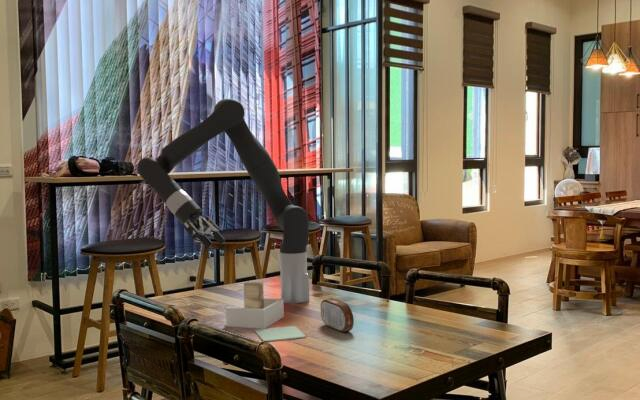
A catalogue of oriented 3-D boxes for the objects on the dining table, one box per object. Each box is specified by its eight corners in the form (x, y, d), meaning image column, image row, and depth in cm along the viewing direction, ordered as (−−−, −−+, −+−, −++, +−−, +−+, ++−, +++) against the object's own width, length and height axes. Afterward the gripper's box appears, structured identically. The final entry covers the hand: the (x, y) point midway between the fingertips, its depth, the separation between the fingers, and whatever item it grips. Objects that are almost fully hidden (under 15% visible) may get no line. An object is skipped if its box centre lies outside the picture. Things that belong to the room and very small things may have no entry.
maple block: (250, 312, 209) (249, 280, 208) (264, 313, 207) (263, 281, 207) (244, 315, 204) (243, 283, 204) (258, 316, 203) (257, 284, 202)
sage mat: (294, 327, 198) (294, 325, 198) (305, 337, 186) (305, 336, 186) (254, 331, 194) (254, 329, 194) (263, 342, 183) (263, 340, 183)
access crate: (224, 327, 201) (224, 307, 201) (246, 315, 215) (245, 297, 215) (264, 330, 197) (264, 310, 196) (283, 317, 211) (283, 299, 210)
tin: (354, 333, 189) (354, 304, 189) (345, 335, 188) (344, 305, 187) (328, 322, 202) (327, 295, 202) (319, 324, 201) (318, 296, 200)
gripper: (178, 200, 203) (213, 238, 200) (201, 197, 217) (234, 233, 214) (164, 217, 205) (198, 255, 202) (187, 213, 219) (220, 249, 216)
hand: (217, 244), depth 208 cm, fingers open, 8 cm apart
